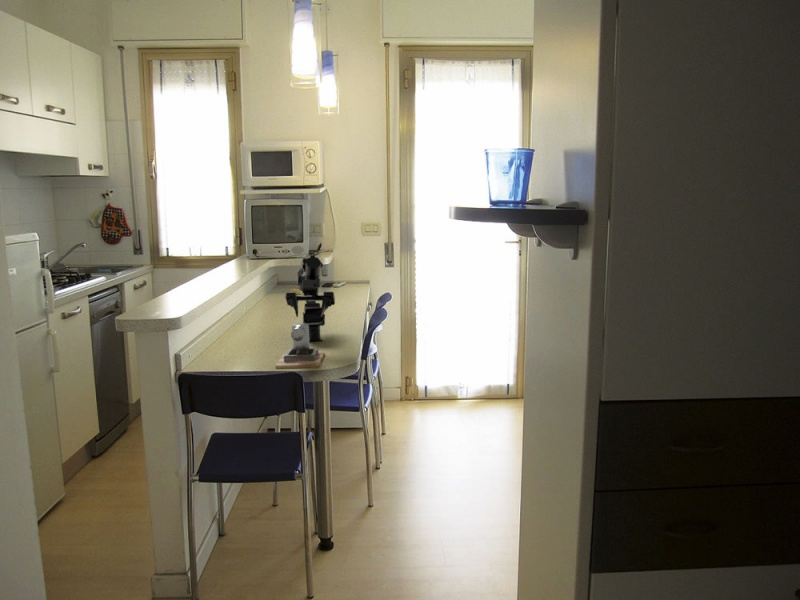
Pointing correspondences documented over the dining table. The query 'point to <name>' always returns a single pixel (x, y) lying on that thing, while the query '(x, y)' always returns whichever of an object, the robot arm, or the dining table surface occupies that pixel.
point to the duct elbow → (300, 339)
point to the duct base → (300, 359)
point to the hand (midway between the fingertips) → (308, 316)
